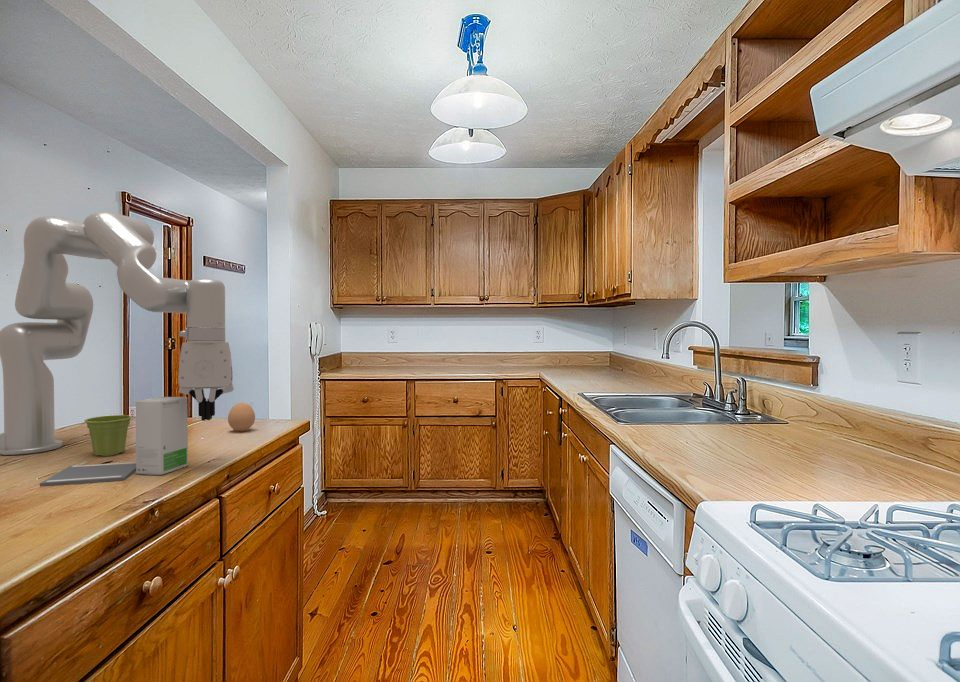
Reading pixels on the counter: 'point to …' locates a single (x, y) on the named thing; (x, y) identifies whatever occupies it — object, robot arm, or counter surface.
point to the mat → (91, 474)
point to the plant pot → (108, 434)
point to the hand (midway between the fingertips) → (206, 419)
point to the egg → (241, 417)
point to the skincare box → (161, 435)
